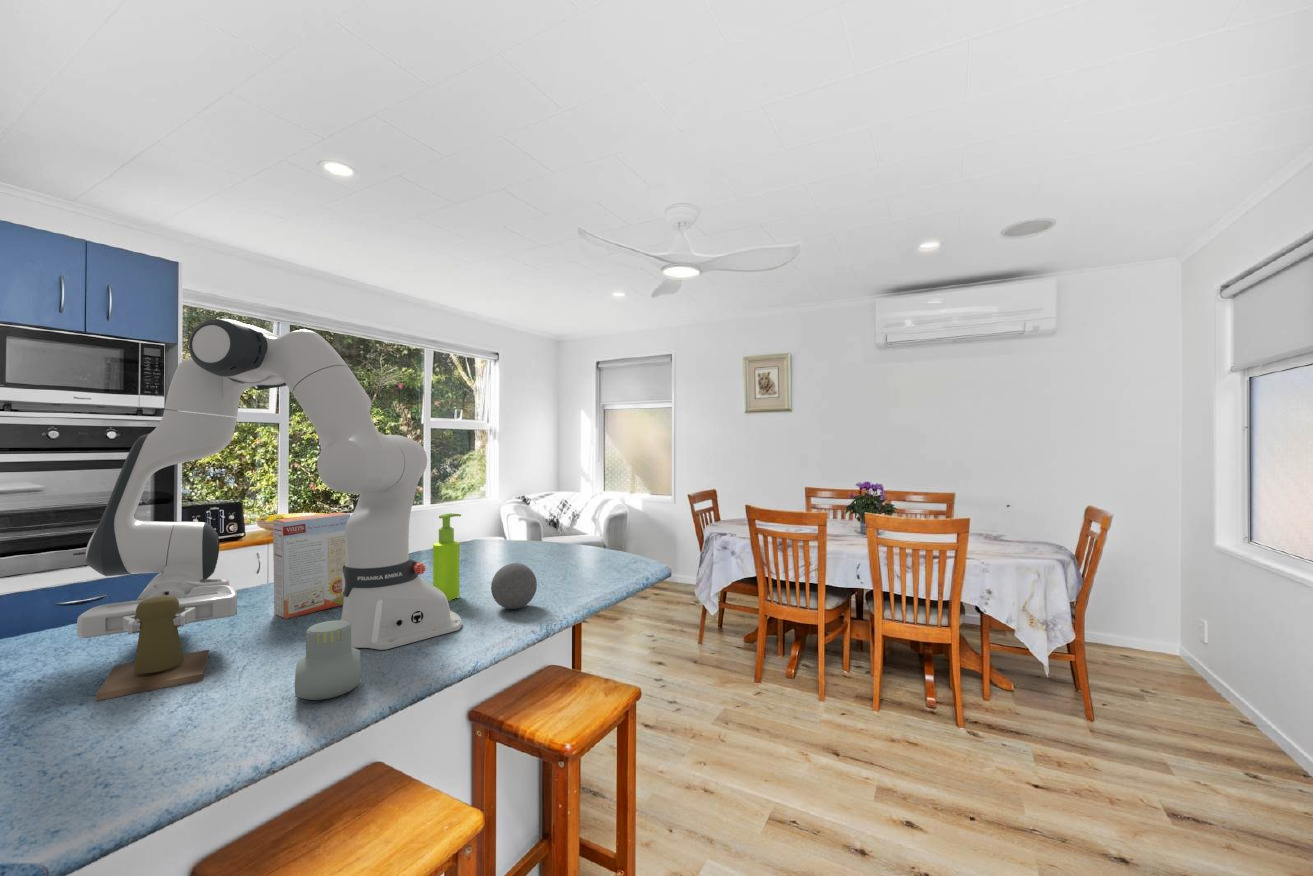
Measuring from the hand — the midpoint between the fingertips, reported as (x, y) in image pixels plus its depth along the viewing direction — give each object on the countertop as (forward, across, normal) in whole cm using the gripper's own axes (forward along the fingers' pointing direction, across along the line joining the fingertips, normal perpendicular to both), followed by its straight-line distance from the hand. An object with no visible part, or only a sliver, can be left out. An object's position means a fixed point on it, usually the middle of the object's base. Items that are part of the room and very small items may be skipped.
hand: (156, 625), depth 88 cm
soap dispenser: (-19, +50, +9) cm, 54 cm away
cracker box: (-27, +23, +9) cm, 36 cm away
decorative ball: (-2, +60, +9) cm, 61 cm away
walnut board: (-1, 0, +8) cm, 9 cm away
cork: (-1, 0, +7) cm, 7 cm away
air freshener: (+21, +22, +9) cm, 32 cm away
